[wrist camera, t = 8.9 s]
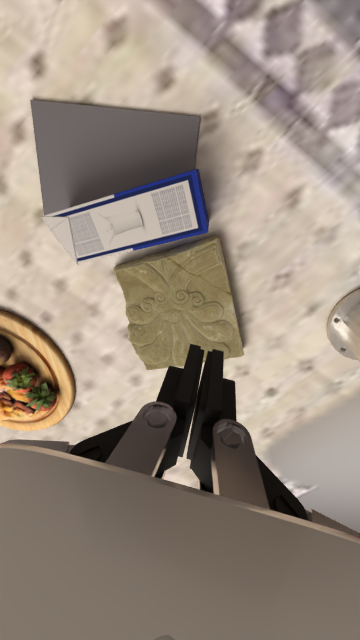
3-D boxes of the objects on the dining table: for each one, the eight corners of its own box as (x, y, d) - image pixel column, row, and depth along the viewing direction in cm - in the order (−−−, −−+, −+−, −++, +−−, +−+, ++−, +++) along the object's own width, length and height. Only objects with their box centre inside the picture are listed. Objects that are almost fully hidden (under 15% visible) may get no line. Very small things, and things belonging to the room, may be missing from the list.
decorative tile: (219, 233, 37) (219, 237, 34) (243, 348, 45) (245, 360, 42) (107, 264, 42) (98, 270, 38) (146, 364, 49) (141, 375, 46)
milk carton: (195, 169, 27) (38, 216, 31) (208, 232, 30) (64, 267, 35) (198, 168, 33) (66, 208, 37) (208, 221, 36) (86, 252, 41)
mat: (200, 117, 31) (199, 116, 31) (186, 235, 37) (185, 236, 37) (32, 100, 33) (30, 99, 32) (46, 216, 39) (44, 216, 39)
